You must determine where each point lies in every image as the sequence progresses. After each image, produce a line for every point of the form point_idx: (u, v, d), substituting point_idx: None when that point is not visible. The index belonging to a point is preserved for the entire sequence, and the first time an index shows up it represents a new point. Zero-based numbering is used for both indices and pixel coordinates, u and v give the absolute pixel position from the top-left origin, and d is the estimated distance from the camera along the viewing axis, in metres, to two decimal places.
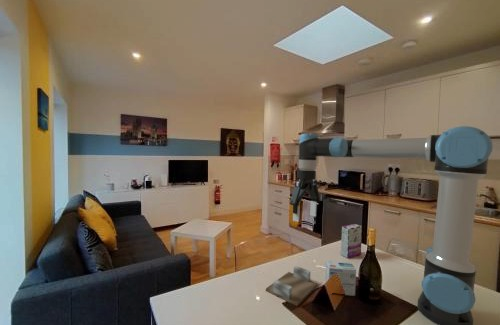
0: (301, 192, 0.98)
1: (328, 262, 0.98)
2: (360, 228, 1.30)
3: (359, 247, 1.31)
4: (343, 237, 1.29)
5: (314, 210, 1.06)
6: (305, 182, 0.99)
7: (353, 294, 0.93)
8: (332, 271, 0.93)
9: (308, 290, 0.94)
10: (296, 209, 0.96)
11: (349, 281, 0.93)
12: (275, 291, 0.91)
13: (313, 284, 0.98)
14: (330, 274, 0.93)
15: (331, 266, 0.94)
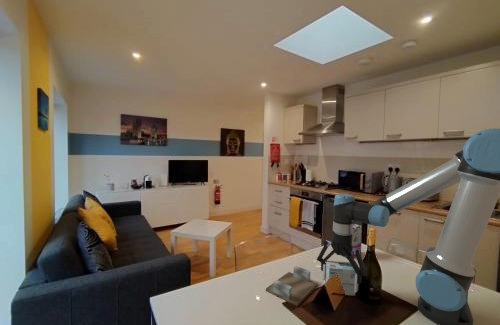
0: (330, 252, 0.98)
1: (328, 262, 0.98)
2: (360, 228, 1.30)
3: (359, 247, 1.31)
4: None
5: None
6: (334, 244, 0.96)
7: (353, 294, 0.93)
8: (332, 271, 0.93)
9: (308, 290, 0.94)
10: (322, 266, 1.00)
11: (349, 280, 0.93)
12: (275, 291, 0.91)
13: (313, 284, 0.98)
14: (330, 274, 0.93)
15: (331, 266, 0.94)
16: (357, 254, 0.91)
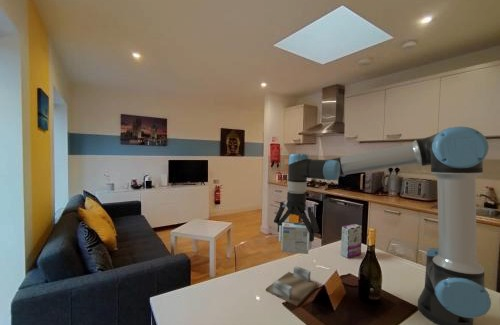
0: None
1: (284, 222, 0.97)
2: (360, 228, 1.30)
3: (359, 247, 1.31)
4: (343, 237, 1.29)
5: None
6: (289, 204, 0.96)
7: (306, 252, 0.92)
8: (285, 229, 0.93)
9: (308, 290, 0.94)
10: (278, 228, 1.00)
11: (302, 239, 0.92)
12: (275, 291, 0.91)
13: (313, 284, 0.98)
14: (283, 232, 0.93)
15: (285, 225, 0.94)
16: (309, 211, 0.90)
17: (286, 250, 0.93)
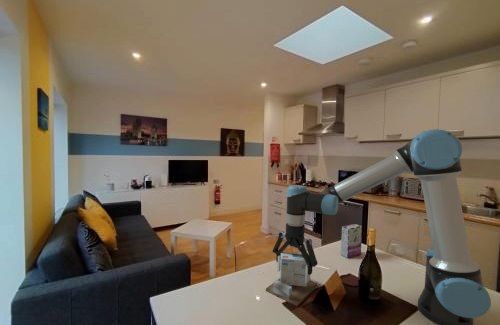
0: (284, 244, 0.98)
1: (282, 253, 0.98)
2: (360, 228, 1.30)
3: (359, 247, 1.31)
4: (343, 237, 1.29)
5: None
6: (287, 235, 0.96)
7: (305, 285, 0.93)
8: (284, 262, 0.93)
9: (308, 290, 0.94)
10: (277, 258, 1.00)
11: (300, 271, 0.93)
12: (275, 291, 0.91)
13: (313, 284, 0.98)
14: (282, 265, 0.93)
15: (283, 257, 0.94)
16: (307, 245, 0.91)
17: (285, 282, 0.94)
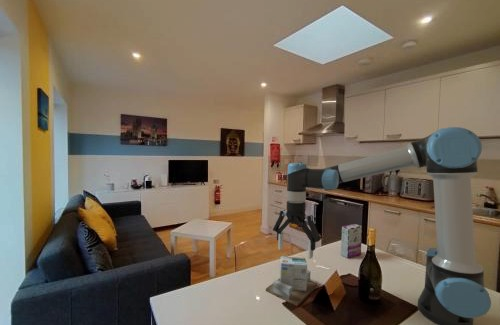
0: (285, 222, 0.98)
1: (282, 258, 0.98)
2: (360, 228, 1.30)
3: (359, 247, 1.31)
4: (343, 237, 1.29)
5: None
6: (289, 213, 0.96)
7: (304, 289, 0.93)
8: (284, 266, 0.93)
9: (308, 290, 0.94)
10: (278, 236, 1.00)
11: (300, 276, 0.93)
12: (275, 291, 0.91)
13: (313, 284, 0.98)
14: (282, 269, 0.94)
15: (283, 261, 0.94)
16: (309, 220, 0.90)
17: None
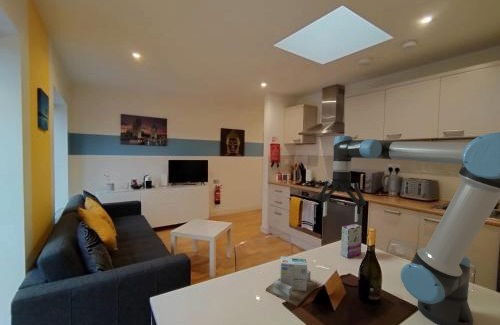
0: (330, 191, 1.07)
1: (282, 258, 0.98)
2: (360, 228, 1.30)
3: (359, 247, 1.31)
4: (343, 237, 1.29)
5: None
6: (334, 182, 1.05)
7: (304, 289, 0.93)
8: (284, 266, 0.93)
9: (308, 290, 0.94)
10: (322, 204, 1.09)
11: (300, 276, 0.93)
12: (275, 291, 0.91)
13: (313, 284, 0.98)
14: (282, 269, 0.94)
15: (283, 261, 0.94)
16: (356, 187, 1.00)
17: None
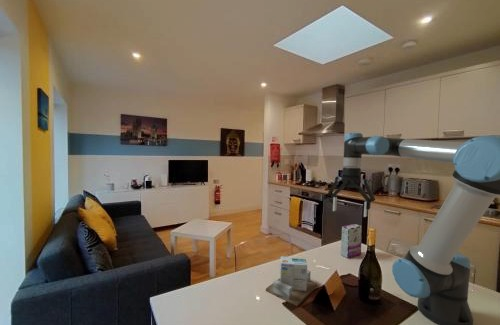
0: (340, 186, 1.10)
1: (282, 257, 0.98)
2: (360, 228, 1.30)
3: (359, 247, 1.31)
4: (343, 237, 1.29)
5: None
6: (344, 178, 1.08)
7: (304, 289, 0.93)
8: (284, 266, 0.93)
9: (308, 290, 0.94)
10: (332, 199, 1.12)
11: (300, 276, 0.93)
12: (275, 291, 0.91)
13: (313, 284, 0.98)
14: (282, 269, 0.94)
15: (283, 261, 0.94)
16: (365, 183, 1.02)
17: None
